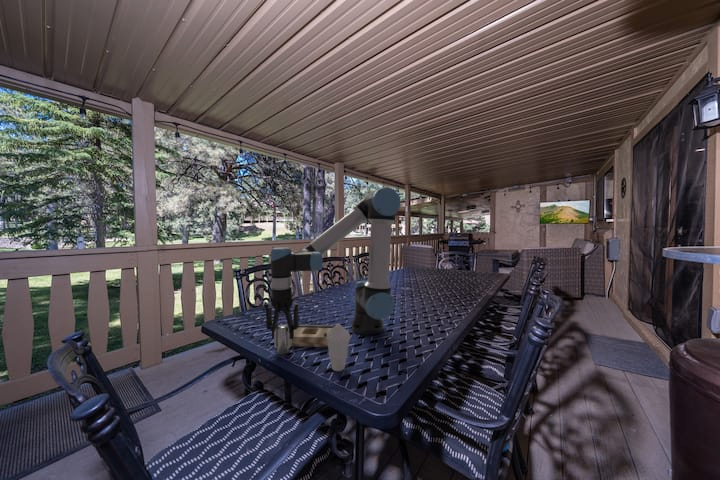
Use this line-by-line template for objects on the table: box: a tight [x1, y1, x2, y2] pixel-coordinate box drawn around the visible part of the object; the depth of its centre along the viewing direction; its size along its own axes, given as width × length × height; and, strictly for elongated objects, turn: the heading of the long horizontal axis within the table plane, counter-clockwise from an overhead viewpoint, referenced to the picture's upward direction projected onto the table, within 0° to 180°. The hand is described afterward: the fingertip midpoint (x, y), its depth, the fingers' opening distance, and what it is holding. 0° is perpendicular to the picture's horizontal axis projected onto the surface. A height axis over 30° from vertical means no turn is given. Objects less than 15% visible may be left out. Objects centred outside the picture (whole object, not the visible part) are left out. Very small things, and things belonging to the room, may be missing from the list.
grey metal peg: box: [276, 324, 290, 356], centre depth 106 cm, size 4×4×10 cm
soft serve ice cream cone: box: [326, 322, 351, 372], centre depth 93 cm, size 8×8×16 cm
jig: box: [291, 324, 334, 348], centre depth 116 cm, size 18×12×5 cm, turn 86°
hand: (283, 346), depth 106 cm, fingers open, 4 cm apart
